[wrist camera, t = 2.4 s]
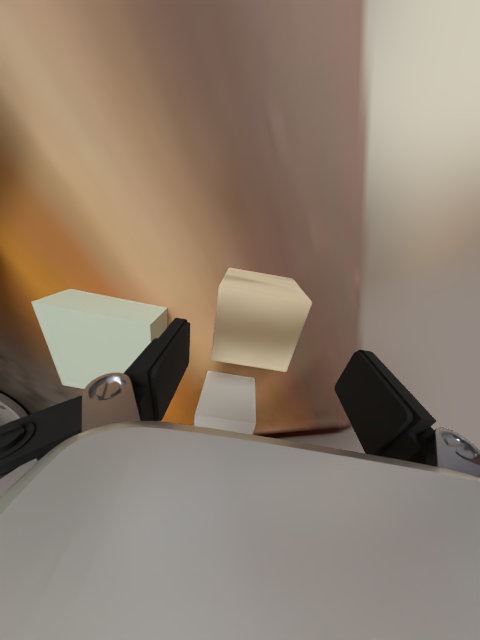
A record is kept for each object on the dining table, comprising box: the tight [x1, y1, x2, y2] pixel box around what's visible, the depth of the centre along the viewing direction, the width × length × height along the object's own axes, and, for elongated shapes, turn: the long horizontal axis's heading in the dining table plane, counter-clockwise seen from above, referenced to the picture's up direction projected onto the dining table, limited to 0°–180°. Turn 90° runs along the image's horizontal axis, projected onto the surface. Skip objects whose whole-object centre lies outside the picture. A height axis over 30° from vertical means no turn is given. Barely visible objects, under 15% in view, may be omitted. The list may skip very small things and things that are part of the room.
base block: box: [31, 289, 168, 389], centre depth 19 cm, size 10×10×4 cm
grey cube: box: [194, 371, 256, 435], centre depth 21 cm, size 6×6×6 cm
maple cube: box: [211, 268, 312, 372], centre depth 15 cm, size 6×6×6 cm
